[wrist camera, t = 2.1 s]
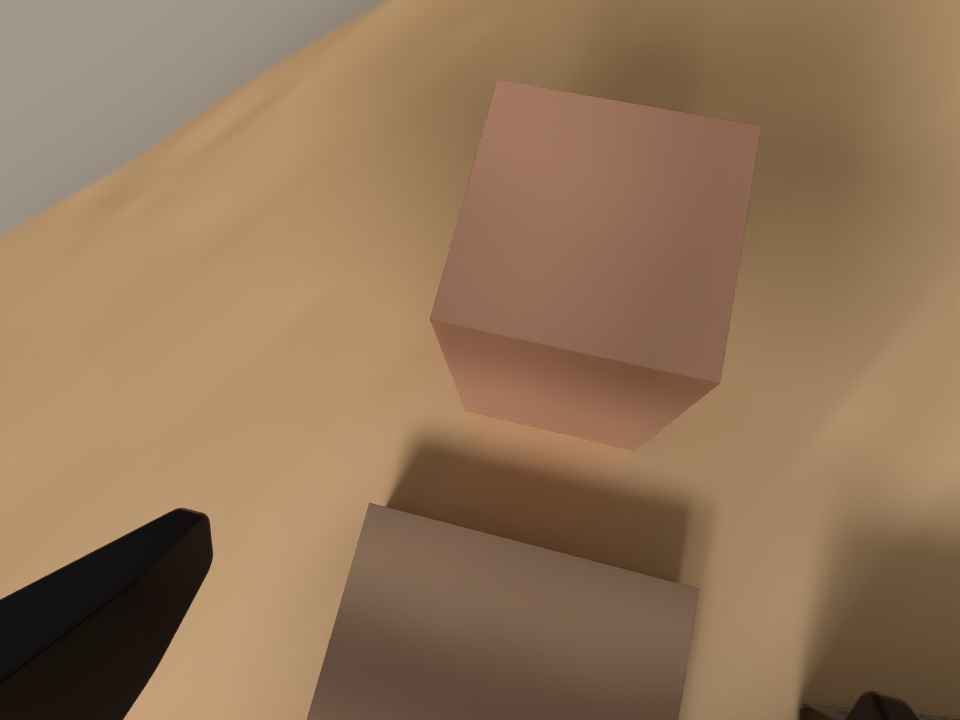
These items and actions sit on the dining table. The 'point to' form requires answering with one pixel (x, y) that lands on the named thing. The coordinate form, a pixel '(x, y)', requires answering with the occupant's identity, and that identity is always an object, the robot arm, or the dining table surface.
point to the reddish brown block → (594, 263)
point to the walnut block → (498, 631)
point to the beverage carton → (839, 713)
